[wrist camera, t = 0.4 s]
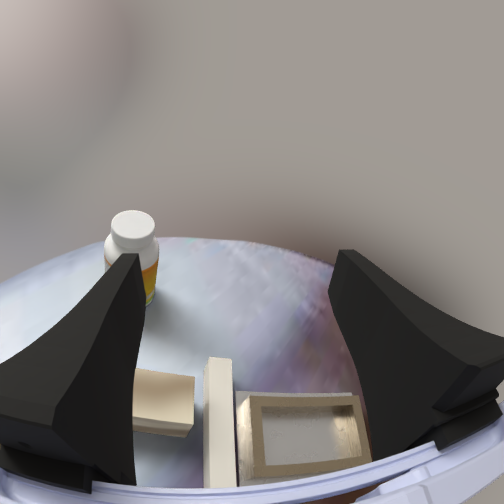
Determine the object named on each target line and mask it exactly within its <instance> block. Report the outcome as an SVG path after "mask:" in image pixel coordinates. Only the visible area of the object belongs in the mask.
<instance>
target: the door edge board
mask: <svg viewBox="0 0 504 504" xmlns="http://www.w3.org/2000/svg"><path fill="white" fill-rule="evenodd" d="M203 476H204V488H227V487H237V486H236V466H235V444H234V418H233V390H232V359H226V358H217V357H209V359H208V362H207V364H206V366H205V369H204V387H203Z"/></svg>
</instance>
